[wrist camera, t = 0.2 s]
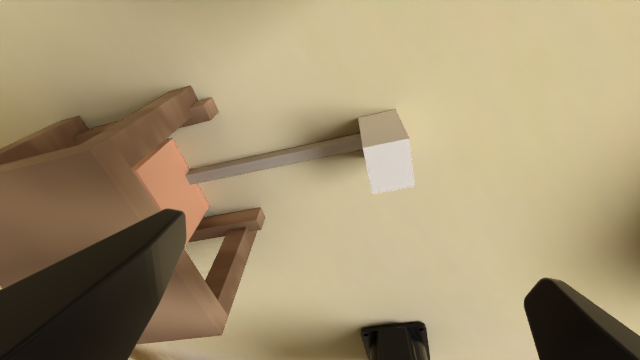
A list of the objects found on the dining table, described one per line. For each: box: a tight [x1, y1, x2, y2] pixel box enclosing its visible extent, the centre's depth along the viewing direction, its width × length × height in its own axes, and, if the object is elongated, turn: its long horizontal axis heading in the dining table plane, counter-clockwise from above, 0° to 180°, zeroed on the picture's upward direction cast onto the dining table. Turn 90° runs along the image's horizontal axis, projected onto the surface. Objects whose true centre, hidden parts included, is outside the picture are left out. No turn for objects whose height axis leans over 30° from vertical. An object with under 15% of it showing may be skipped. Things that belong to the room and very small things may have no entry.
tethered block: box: [131, 109, 415, 247], centre depth 20 cm, size 6×21×4 cm, turn 104°
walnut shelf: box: [0, 86, 265, 344], centre depth 19 cm, size 12×12×9 cm
